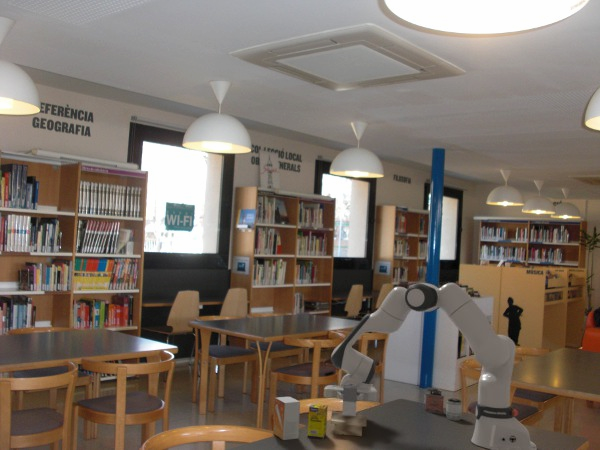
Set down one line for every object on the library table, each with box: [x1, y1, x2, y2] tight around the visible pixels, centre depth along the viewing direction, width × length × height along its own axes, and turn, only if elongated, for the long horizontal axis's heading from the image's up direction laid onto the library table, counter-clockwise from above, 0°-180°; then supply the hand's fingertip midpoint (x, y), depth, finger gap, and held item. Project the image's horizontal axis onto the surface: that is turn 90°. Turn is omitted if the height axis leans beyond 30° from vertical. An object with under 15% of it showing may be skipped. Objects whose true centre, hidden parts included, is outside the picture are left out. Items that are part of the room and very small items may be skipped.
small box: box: [272, 396, 301, 441], centre depth 230 cm, size 8×6×13 cm
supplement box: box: [307, 403, 329, 440], centre depth 232 cm, size 6×6×11 cm
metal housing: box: [341, 385, 358, 416], centre depth 241 cm, size 5×5×10 cm
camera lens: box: [445, 398, 463, 421], centre depth 269 cm, size 6×6×8 cm
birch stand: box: [330, 411, 368, 437], centre depth 241 cm, size 13×13×5 cm
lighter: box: [424, 387, 445, 415], centre depth 278 cm, size 8×3×10 cm, turn 58°
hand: (349, 397), depth 240 cm, fingers closed on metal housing, 5 cm apart
